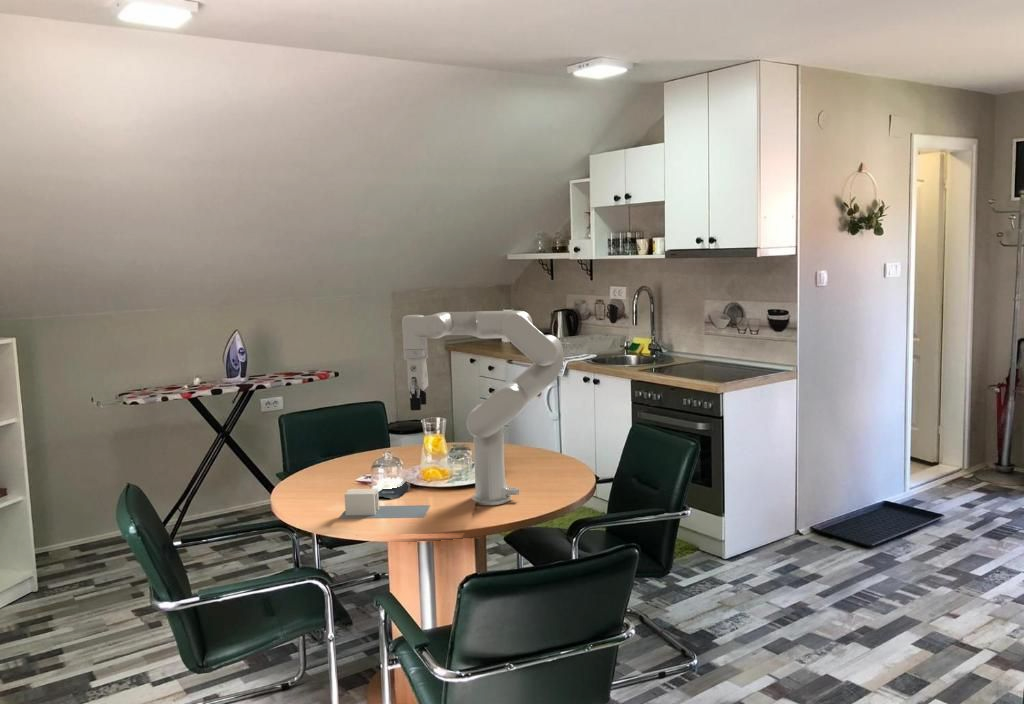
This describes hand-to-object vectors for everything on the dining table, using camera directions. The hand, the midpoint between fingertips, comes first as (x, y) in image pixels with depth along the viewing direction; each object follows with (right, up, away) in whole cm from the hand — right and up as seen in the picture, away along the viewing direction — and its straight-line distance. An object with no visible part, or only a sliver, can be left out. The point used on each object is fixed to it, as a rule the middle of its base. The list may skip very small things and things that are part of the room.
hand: (418, 407), depth 268 cm
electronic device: (-10, -31, +8) cm, 33 cm away
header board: (-9, -32, -12) cm, 35 cm away
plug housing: (-16, -31, -11) cm, 37 cm away
